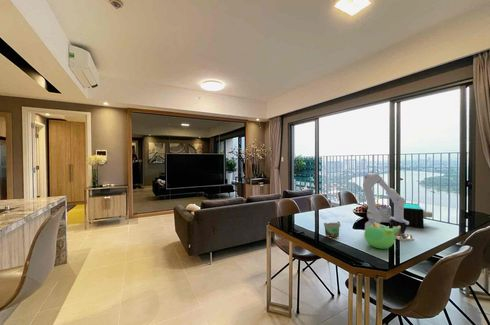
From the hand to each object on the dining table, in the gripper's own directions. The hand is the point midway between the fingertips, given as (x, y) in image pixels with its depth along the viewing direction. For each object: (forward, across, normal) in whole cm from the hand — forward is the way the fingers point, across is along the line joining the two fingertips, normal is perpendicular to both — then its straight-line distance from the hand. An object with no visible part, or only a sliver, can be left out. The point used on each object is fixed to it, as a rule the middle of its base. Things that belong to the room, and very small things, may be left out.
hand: (398, 231), depth 157 cm
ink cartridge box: (+2, +28, -15) cm, 32 cm away
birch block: (+2, 0, 0) cm, 2 cm away
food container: (+2, +4, +50) cm, 50 cm away
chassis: (+1, -10, +6) cm, 11 cm away
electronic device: (+2, +17, -33) cm, 37 cm away
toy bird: (+2, -18, +33) cm, 38 cm away
